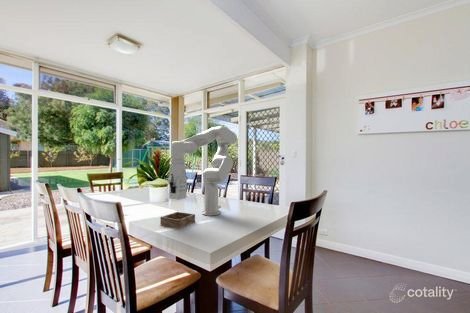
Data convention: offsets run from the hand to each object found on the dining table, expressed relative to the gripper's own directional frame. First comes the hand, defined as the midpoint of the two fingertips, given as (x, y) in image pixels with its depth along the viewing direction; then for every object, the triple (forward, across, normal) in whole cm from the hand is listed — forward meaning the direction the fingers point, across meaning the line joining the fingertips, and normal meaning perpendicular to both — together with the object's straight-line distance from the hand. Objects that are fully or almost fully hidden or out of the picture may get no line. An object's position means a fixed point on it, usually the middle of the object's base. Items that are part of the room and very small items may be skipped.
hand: (178, 191), depth 130 cm
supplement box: (+4, 0, 0) cm, 4 cm away
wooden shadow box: (+19, 0, 0) cm, 19 cm away
